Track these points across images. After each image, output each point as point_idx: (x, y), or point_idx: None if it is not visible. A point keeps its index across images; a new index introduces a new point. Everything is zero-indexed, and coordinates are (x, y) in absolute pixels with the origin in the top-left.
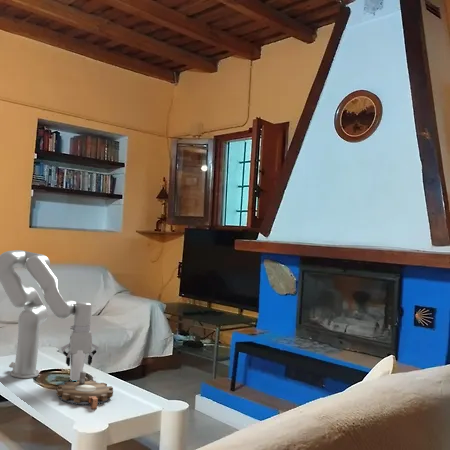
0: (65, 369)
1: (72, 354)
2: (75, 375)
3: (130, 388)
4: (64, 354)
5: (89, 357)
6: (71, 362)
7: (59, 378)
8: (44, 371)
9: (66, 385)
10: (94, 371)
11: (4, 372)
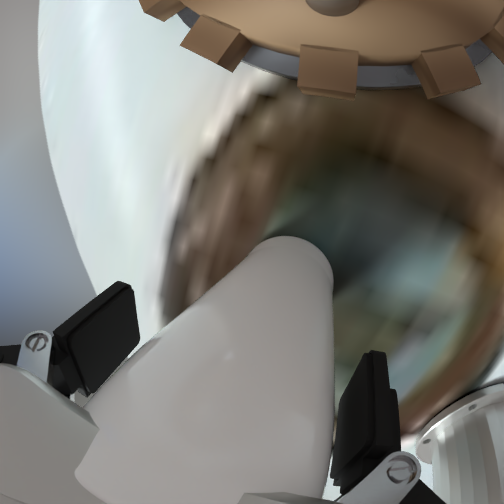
0: None
1: (322, 492)
2: (304, 260)
3: (56, 63)
4: (438, 498)
5: (75, 341)
6: (334, 388)
7: (374, 349)
8: None
9: (476, 10)
10: None
11: None
